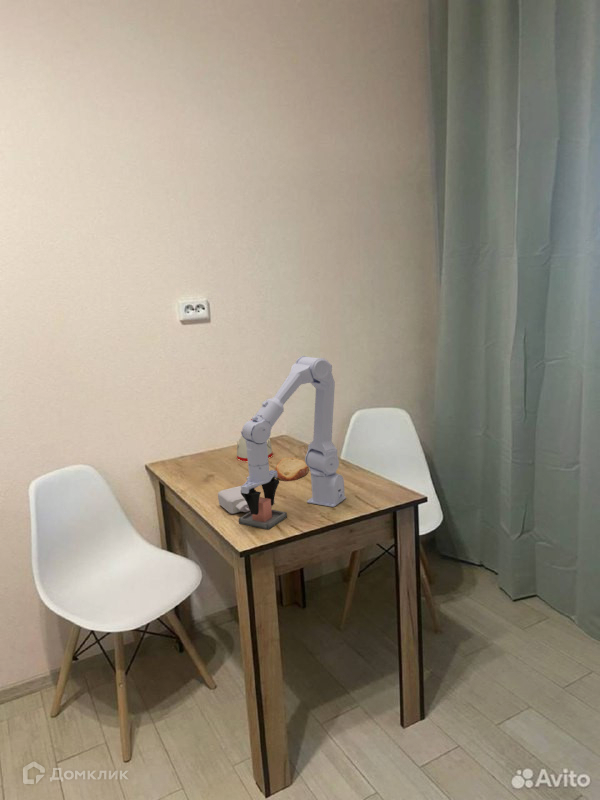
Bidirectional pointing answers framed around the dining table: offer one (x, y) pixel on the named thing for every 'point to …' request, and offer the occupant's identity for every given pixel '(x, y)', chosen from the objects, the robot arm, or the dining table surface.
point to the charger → (233, 500)
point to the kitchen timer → (243, 449)
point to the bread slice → (291, 469)
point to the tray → (248, 520)
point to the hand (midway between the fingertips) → (262, 509)
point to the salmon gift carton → (263, 510)
